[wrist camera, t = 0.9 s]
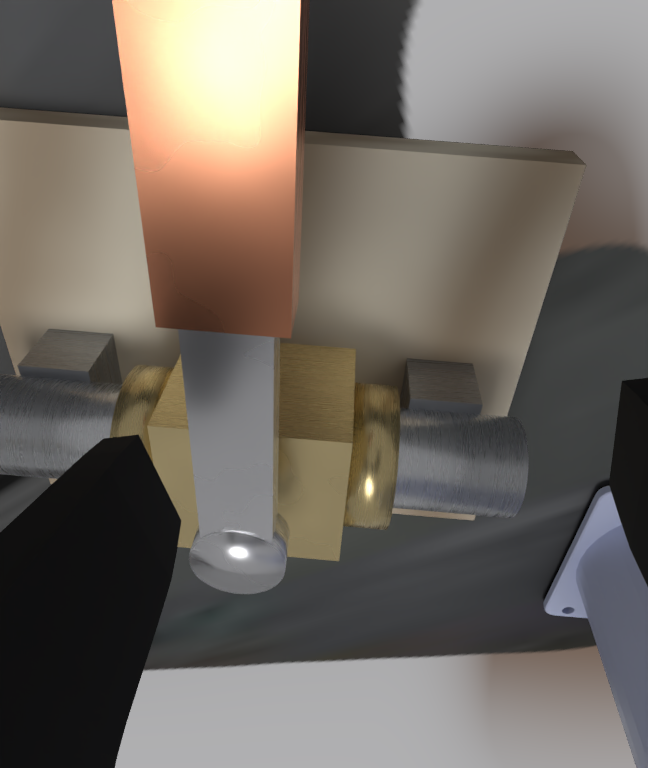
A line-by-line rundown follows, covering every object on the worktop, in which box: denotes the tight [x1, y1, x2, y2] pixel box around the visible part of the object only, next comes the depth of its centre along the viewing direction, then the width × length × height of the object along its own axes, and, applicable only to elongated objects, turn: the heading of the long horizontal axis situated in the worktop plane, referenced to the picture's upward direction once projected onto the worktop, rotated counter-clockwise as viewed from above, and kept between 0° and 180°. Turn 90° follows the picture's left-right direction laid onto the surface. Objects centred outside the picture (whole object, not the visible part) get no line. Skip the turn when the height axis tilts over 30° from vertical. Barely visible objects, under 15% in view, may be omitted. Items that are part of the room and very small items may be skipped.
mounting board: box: [0, 107, 586, 520], centre depth 19 cm, size 16×13×1 cm
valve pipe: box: [0, 329, 528, 561], centre depth 17 cm, size 15×4×5 cm, turn 87°
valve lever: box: [112, 0, 310, 594], centre depth 11 cm, size 13×2×1 cm, turn 177°
